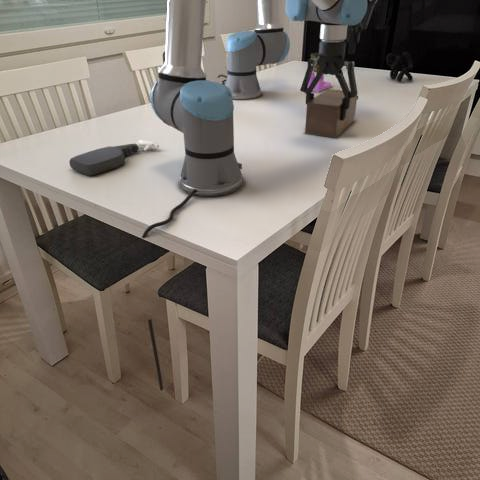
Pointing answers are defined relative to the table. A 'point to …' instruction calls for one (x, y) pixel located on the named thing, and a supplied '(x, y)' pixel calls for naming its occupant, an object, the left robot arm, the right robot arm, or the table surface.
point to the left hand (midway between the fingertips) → (326, 117)
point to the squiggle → (399, 66)
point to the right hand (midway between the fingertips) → (351, 53)
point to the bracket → (319, 83)
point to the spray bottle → (106, 157)
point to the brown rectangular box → (328, 114)
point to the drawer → (355, 105)
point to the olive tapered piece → (315, 56)
